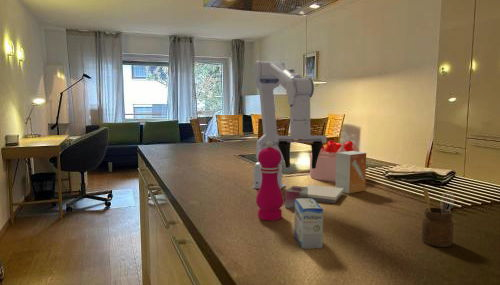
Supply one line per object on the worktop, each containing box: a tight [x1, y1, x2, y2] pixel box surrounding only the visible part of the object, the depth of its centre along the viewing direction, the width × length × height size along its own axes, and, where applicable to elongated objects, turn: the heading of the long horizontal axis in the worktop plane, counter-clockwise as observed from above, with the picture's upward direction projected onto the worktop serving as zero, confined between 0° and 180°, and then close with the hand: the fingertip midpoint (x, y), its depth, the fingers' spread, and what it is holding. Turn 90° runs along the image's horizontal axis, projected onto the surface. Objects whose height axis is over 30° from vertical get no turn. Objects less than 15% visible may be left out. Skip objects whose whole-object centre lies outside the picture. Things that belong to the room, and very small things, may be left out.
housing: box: [284, 185, 308, 210], centre depth 105 cm, size 4×7×6 cm, turn 154°
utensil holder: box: [421, 186, 455, 248], centre depth 76 cm, size 6×6×12 cm
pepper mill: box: [255, 142, 285, 222], centre depth 94 cm, size 7×7×20 cm
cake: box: [309, 139, 360, 183], centre depth 143 cm, size 20×20×14 cm
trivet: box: [305, 184, 344, 204], centre depth 114 cm, size 12×12×2 cm
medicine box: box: [293, 198, 324, 250], centre depth 77 cm, size 8×4×9 cm, turn 5°
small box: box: [335, 151, 367, 195], centre depth 121 cm, size 8×6×13 cm
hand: (300, 167), depth 104 cm, fingers open, 7 cm apart
